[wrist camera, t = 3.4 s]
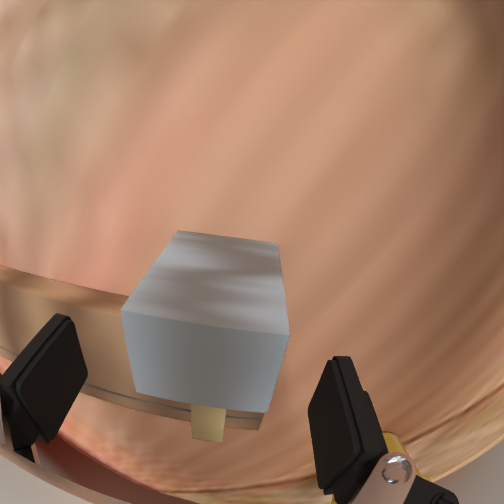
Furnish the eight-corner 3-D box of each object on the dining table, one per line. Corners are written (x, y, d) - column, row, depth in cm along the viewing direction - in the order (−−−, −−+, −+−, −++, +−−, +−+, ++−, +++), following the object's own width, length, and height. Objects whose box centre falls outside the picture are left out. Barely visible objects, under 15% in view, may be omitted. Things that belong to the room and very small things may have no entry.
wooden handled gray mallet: (277, 243, 14) (289, 334, 8) (246, 403, 19) (242, 485, 13) (178, 230, 14) (120, 309, 8) (181, 394, 19) (161, 472, 13)
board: (281, 319, 16) (283, 342, 14) (259, 409, 20) (258, 430, 18) (-16, 260, 16) (-31, 271, 14) (11, 343, 19) (1, 356, 17)
